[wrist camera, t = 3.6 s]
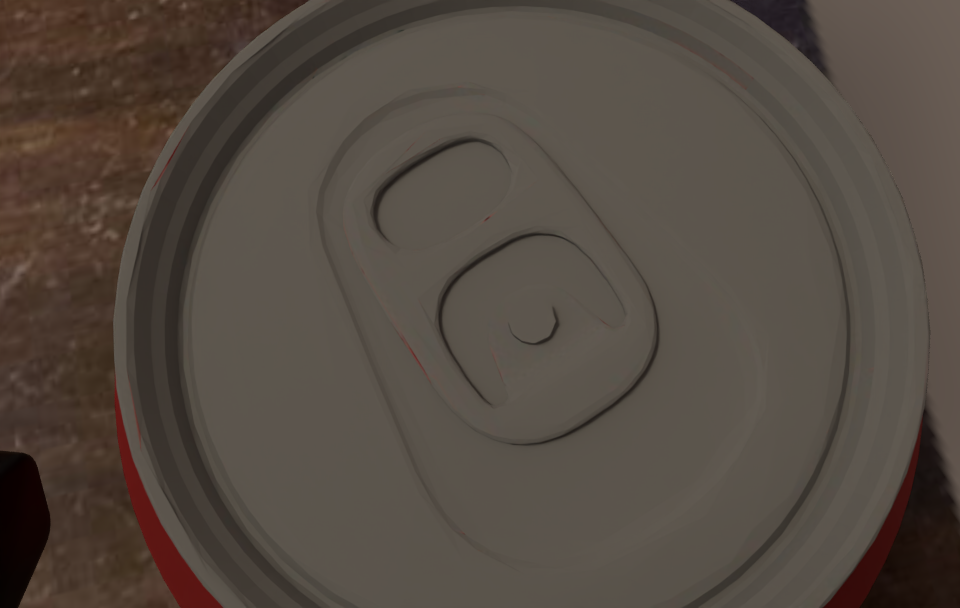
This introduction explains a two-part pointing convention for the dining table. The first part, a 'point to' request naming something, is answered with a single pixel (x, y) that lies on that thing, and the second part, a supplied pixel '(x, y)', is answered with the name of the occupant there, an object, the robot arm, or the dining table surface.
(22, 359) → the dining table surface
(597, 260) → the beverage can
